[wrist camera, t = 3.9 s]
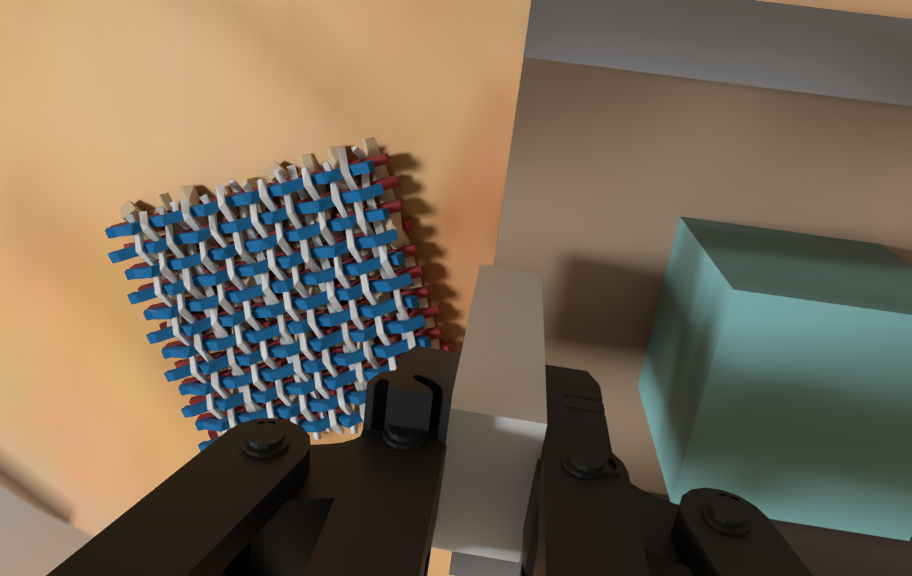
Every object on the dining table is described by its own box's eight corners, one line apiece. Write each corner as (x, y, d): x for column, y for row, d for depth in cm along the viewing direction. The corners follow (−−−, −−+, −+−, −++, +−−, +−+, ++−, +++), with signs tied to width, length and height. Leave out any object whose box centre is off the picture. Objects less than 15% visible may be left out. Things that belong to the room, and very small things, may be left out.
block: (679, 216, 17) (733, 289, 13) (879, 244, 17) (1009, 328, 12) (637, 386, 19) (671, 503, 15) (817, 412, 19) (909, 541, 14)
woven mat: (472, 393, 26) (467, 422, 24) (225, 439, 28) (203, 469, 26) (392, 126, 23) (379, 136, 21) (118, 201, 25) (84, 216, 23)
